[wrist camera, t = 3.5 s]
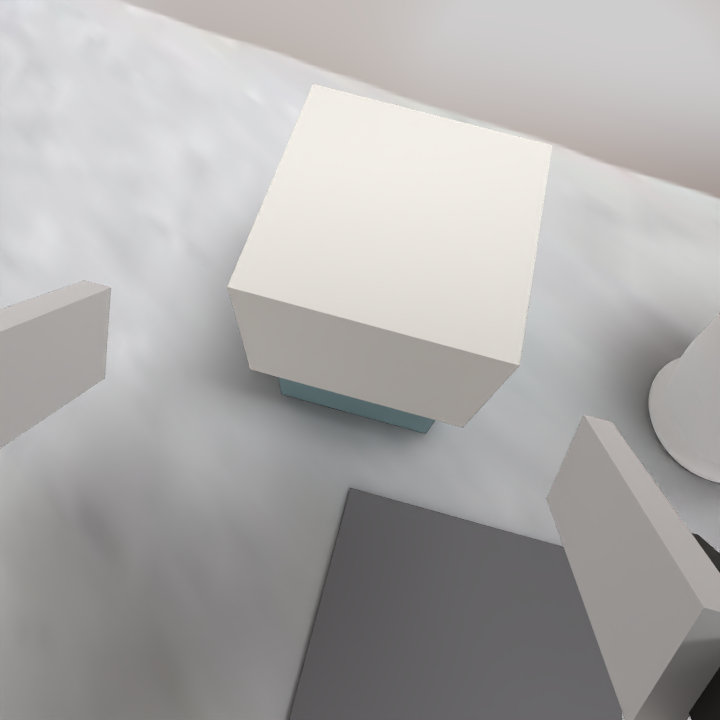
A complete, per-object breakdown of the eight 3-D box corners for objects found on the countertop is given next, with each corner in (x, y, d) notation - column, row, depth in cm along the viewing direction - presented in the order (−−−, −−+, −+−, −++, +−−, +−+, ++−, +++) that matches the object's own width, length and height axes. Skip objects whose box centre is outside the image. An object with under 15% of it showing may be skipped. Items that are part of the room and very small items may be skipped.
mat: (625, 565, 30) (629, 565, 30) (606, 940, 24) (610, 946, 23) (349, 489, 31) (350, 487, 30) (258, 837, 24) (257, 840, 24)
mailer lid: (495, 250, 31) (552, 145, 24) (462, 427, 27) (519, 365, 19) (312, 202, 31) (313, 83, 24) (250, 369, 27) (226, 286, 20)
